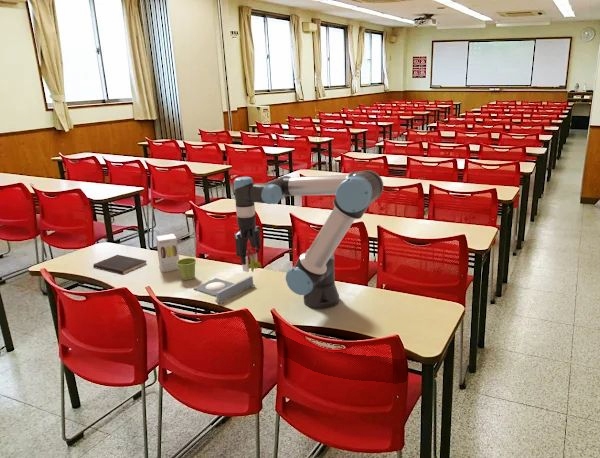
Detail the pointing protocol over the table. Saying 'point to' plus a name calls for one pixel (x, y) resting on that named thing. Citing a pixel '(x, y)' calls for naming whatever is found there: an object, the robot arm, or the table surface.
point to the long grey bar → (234, 289)
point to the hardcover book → (120, 264)
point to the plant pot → (187, 268)
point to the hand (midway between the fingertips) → (250, 268)
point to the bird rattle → (252, 258)
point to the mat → (213, 286)
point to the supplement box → (167, 252)
